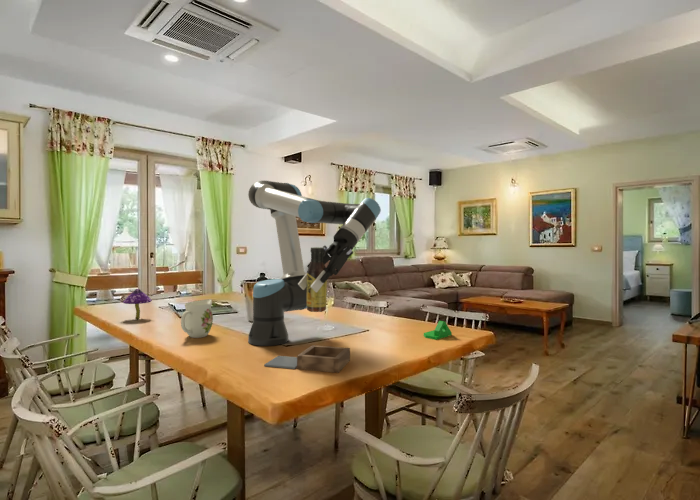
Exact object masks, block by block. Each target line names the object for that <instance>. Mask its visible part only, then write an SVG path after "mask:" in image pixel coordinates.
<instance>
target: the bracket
mask: <svg viewBox="0 0 700 500" xmlns="http://www.w3.org/2000/svg"><path fill="white" fill-rule="evenodd" d="M452 334H453V333H452V331H451V329H450V327H449V326H448V324H447V323H446V321H443V320H438V322H437V324H436V327H435V328H434V329H433V330H430V331H429V330H428V331H427V332H423V336H424V338H425V339H430V340H435V341H437V340H441V339H444V338H447V337H449V336H451V337H452Z"/></svg>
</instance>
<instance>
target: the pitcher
mask: <svg viewBox="0 0 700 500" xmlns="http://www.w3.org/2000/svg"><path fill="white" fill-rule="evenodd" d="M212 300H213V299H210V298H209V299H202V300H195V301H190V302H186V303H184V307H185V311H184V312H183V313H182V315H181V317H180V326H181V329H182V331H183V332H184V333H186V334H187V335H188V336H189V338H193V339H194V338H195V339H198V338H199V339H200V338H205V337H208V335H209V333H210V332H211V329H212V327H213V321H214V314H213V311H212V304H213V301H212Z"/></svg>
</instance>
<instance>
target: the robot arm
mask: <svg viewBox="0 0 700 500" xmlns="http://www.w3.org/2000/svg"><path fill="white" fill-rule="evenodd" d="M247 195H248V196H247V197H248V200H249V202H250V203H251V204H252V206H254V207H256V208H258V209H263V210H269V212H270V216H271V217H272V218H273V219H275V224H276V226H275V227H276V233H277V238H278V246H279V253H280V260H281V267H282V274H283V275H282V276H281V278H273V279H266V280H259V281H257V282H256V283H255V284H254V285H253V289H252V320H253V321H252V323H251V327H250V330H249V332H248V335H247V338H248V340H247V342H248V344H250V345H254V346H258V347H259V346H263V347H268V346H278V345H282V343H283V344H286V343H288V342H289V333H288V330H287V327H286V324H285V313H286V312H292V311H293V312H294V311H303V310H307V272H306V271H305V267H304V262H303V256H302V255H303V254H302V249H301V242H300V237H299V229H298V223H297V218H300V221H302V222H304V223H305V222H306V223H310V224H315V223H316V224H331V225H332V224H334V225H341V227H340V228H339V229H338V230H337V231H336V233H334V235H333V242H331V244H330V245H329V246H327V245H325V244H324V245H323V246H322V248H324V253H323V263H324V265H325V266H326V264H327V263H328V264H327V266H326V268H324V269H325V271H326V272H325V271H324V270H323V271H322V272H321V273H320V275H319V276H318V277H317V278H316V280H315V281H314V282H313V284H312V285H311V286H310V287H311V288H312V289H313V290H314V291H315V292H318V290H319V289H320V288H321V287H322V285H323V284H324V283H325V282H326V280H327V281H328V279H329V278H330V277H331V276H333V275H335V276H336V275H338V274H339V273H340V271H341V270H342V268H343V267H344V265H345V263H346V262H347V261H348V259H349V258H350V257H351V256H352V255H353V254H354V251H353V249H354V248H355V246H356V245H358V242H360V240H361V239H362V237H363V236H364V235H365V233H366V232H367V231H368V230H369V229H370V227H372V224H373V223H374V222H375V221H376V220H377V218H378V217H379V215H380V214H381V211H382V210H381V206H380V204H379V203H378V202H377V201H376V200H375V199H373V198H371V197H365V198H364V199H362V200H361V201H360V203H353V204H352V203H347V202H346V203H344V202H337V201H335V202H334V201H325V200H319V199H315V198H310V197H306V196H303V195H302V192H301V189H300V188H299V187H298V186H296V185H294V184H291V183H288V182H278V181H277V182H276V181H271V180H258V181H256V182H254V183H253V184H252V185H250V187H249V190H248V194H247ZM296 217H297V218H296ZM309 265H310V262H309V263H308V264H307V265H306V267H307V269H308V268H309ZM287 341H288V342H287ZM285 342H286V343H285Z"/></svg>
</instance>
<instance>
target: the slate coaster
mask: <svg viewBox="0 0 700 500" xmlns="http://www.w3.org/2000/svg"><path fill="white" fill-rule="evenodd" d="M264 367H269V368H279V369H287V370H288V369H289V370H296V369H297V356H287V355H277V356H276V357H274V358H272V359H271V360H269V361H268V362H266V363H264Z"/></svg>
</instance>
